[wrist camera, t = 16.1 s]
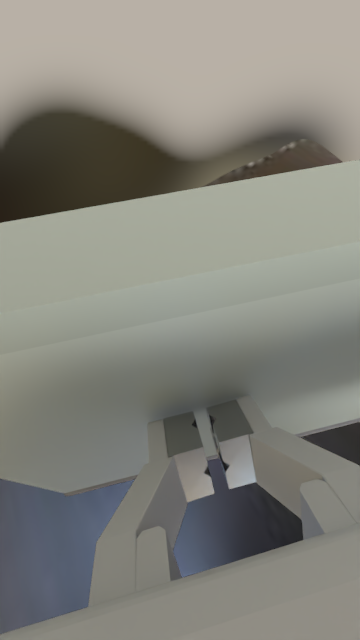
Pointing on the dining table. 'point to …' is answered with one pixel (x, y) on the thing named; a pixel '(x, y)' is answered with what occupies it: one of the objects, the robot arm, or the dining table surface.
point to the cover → (176, 320)
